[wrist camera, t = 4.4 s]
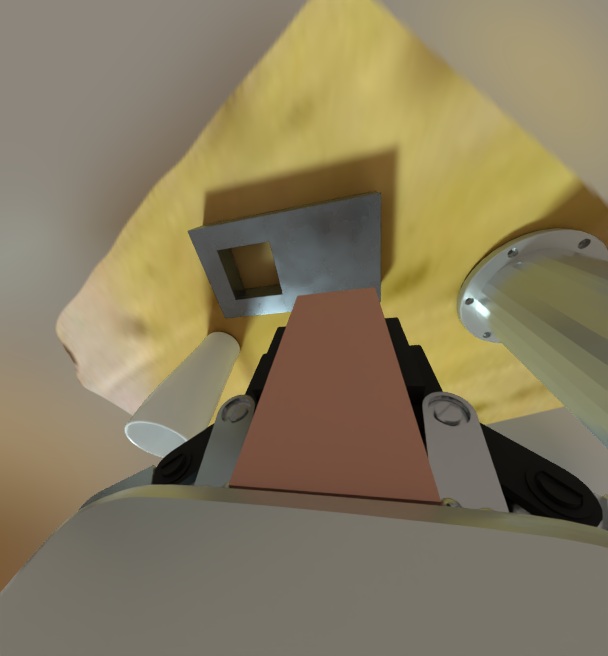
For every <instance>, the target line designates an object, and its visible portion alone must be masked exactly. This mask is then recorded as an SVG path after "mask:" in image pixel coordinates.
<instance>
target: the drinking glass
mask: <svg viewBox="0 0 608 656" xmlns="http://www.w3.org/2000/svg"><path fill="white" fill-rule="evenodd" d="M239 353H240V347H239V344H238V342H237V341H236V339H235V338H233V337H232V336H231V335H229V334H227V333H224V332H213V333H211V334H209V335H208V336H207V337H206V338H205V339H204V340H203V341H202V343H201V344H200V345H199V346H198V347H197V348H196V349H195V350H194V351H193V352H192V353H191V354H190V355H189V356H188V357H187V358H186V359H185V360H184V361H183V362H182V363H181V364H180V365H179V366H178V367H177V368H176V369H175V370H174V371H173V372H172V373H171V374H170V375H168V376H167V377H166V378H165V379H164V380H163V381H162V382H161V383H160V384H159V385H158V387H157V388H156V389H155V390H154V391H153V392H152V393H151V394H150V395H149V396H148V398H147V399H146V400H145V401H144V402H143V403H142V405H141V406H140V407H139V408H138V410H137V411H136V412H135V413H134V415H133V416H132V417H131V419H130V420H129V421H128V423H127V424H126V425H125V434H126V436H127V437H128V438H129V440H130V441H131V442H132V443H134V444H135V445H136V446H138V447H139V448H141V449H143V450H144V451H147V452H148V453H151V454H153V455H156V456H160V457H163V458H164V457H165V456H166V455H167V454H169V453H170V452H171V451H173V450H174V449H176V448H177V447H179V446H180V445H182V444H183V443H185V442H186V441H188V440H189V439H191V438H192V437H194V436H195V435H197V434H199V433H200V432H202V431H203V430H205V429H206V428H207V427H208V425H209V423H210V421H211V419H212V417H213V414H214V412H215V410H216V407H217V405H218V402H219V400H220V397H221V395H222V392H223V390H224V388H225V385H226V383H227V380H228V378H229V375H230V373H231V371H232V368H233V366H234V364H235V361H236V360H237V358H238V356H239Z"/></svg>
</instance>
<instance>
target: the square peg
mask: <svg viewBox="0 0 608 656" xmlns="http://www.w3.org/2000/svg"><path fill="white" fill-rule="evenodd" d="M229 486H230V487H231V488H233V489H246V490H259V491H272V492H285V493H297V494H309V495H321V496H334V497H346V498H358V499H370V500H381V501H392V502H404V503H415V504H427V505H438V506H440V504H441V499H440V496H439V493H438V489H437V486H436V483H435V480H434V477H433V473H432V470H431V467H430V464H429V460H428V457H427V454H426V451H425V447H424V444H423V441H422V438H421V435H420V431H419V428H418V425H417V422H416V418H415V415H414V412H413V409H412V405H411V402H410V399H409V396H408V392H407V389H406V386H405V383H404V380H403V376H402V373H401V370H400V367H399V363H398V360H397V357H396V354H395V350H394V347H393V344H392V341H391V338H390V334H389V331H388V328H387V325H386V321H385V318H384V315H383V312H382V308H381V305H380V302H379V299H378V296H377V292H376V289H375V287H371V288H362V289H353V290H344V291H335V292H326V293H317V294H308V295H299V296H297V298H296V301H295V304H294V306H293V309H292V312H291V315H290V317H289V320H288V323H287V326H286V328H285V331H284V334H283V337H282V339H281V342H280V345H279V348H278V350H277V353H276V356H275V359H274V361H273V364H272V367H271V370H270V372H269V375H268V378H267V381H266V383H265V386H264V389H263V392H262V394H261V397H260V400H259V403H258V405H257V408H256V411H255V414H254V416H253V419H252V422H251V425H250V427H249V430H248V433H247V436H246V438H245V441H244V444H243V447H242V449H241V452H240V455H239V458H238V460H237V463H236V466H235V469H234V471H233V474H232V477H231V480H230V482H229Z"/></svg>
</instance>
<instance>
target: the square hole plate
mask: <svg viewBox="0 0 608 656" xmlns="http://www.w3.org/2000/svg"><path fill="white" fill-rule="evenodd" d="M188 233H189V236H190V238H191V240H192V243H193V245H194V247H195V250H196V252H197V254H198V257H199V259H200V261H201V263H202V266H203V268H204V270H205V273H206V275H207V277H208V280H209V282H210V284H211V287H212V289H213V291H214V293H215V296H216V298H217V300H218V303H219V305H220V307H221V310H222V312H223V314H224V317H225V318H234V317H244V316H253V315H263V314H272V313H282V312H291V311H292V309H293V306H294V304H295V301H296V298H297V296H299V295H308V294H317V293H326V292H335V291H344V290H353V289H362V288H371V287H375V289H376V292H377V296H378V299H379V302H381V193H379V192H377V191H373V192H368V193H363V194H358V195H353V196H348V197H343V198H338V199H333V200H328V201H323V202H318V203H313V204H308V205H303V206H298V207H293V208H288V209H283V210H278V211H273V212H268V213H263V214H258V215H253V216H248V217H243V218H238V219H233V220H228V221H223V222H218V223H213V224H208V225H203V226H200V227H197V228H194V229H192V230H189V231H188ZM268 241H269V242H270V246H271V250H272V254H273V258H274V262H275V266H276V269H277V273H278V277H279V281H280V285H274V286H266V287H258V288H251V289H244V286H243V283H242V280H241V278H240V275H239V272H238V269H237V266H236V263H235V261H234V258H233V255H232V252H231V249H230V248H233V247H239V246H245V245H251V244H257V243H263V242H268Z"/></svg>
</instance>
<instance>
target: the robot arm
mask: <svg viewBox="0 0 608 656" xmlns="http://www.w3.org/2000/svg"><path fill="white" fill-rule="evenodd" d="M457 312H458V317H459V319H460V321H461V323H462V324H463V326H464V327H465V328H466V329H467V330H468V331H469V332H470V333H471V334H473V335H474V336H475V337H477V338H479V339H482V340H485V341H489V342H493V343H502V344H503V345H504V346H505V347H506V348H507V349H508V350H509V351H510V352H511V353H512V354H513V355H514V356H515V357H516V358H517V359H518V360H519V361H520V362H521V363H522V364H523V365H524V366H525V367H526V368H527V369H528V370H529V371H530V372H531V373H532V374H533V375H534V376H535V377H536V378H537V379H538V380H539V381H540V382H541V383H542V384H543V385H544V386H545V387H546V388H547V389H548V390H549V391H550V392H551V393H552V394H553V395H554V396H555V397H556V398H557V399H558V400H559V401H560V402H561V403H562V404H563V405H564V406H565V407H566V408H567V409H568V410H569V411H570V412H571V413H572V414H573V415H574V416H575V417H576V418H577V419H578V420H579V421H580V422H581V423H582V424H583V425H584V426H585V427H587V429H588V430H589V431H590V432H592V434H593V435H594V436H595V437H596V438H597V439H598V440H599V441H600V442H601V443H602V444H603V445H604V446H606V448H607V449H608V249H607V247H606V246H605V244H604V243H603V242H602V241H601V240H599V239H598V238H597V237H596V236H594V235H591V234H588V233H586V232H583V231H578V230H573V229H564V228H553V229H546V230H539V231H535V232H532V233H529V234H525V235H522V236H520V237H518V238H516V239H514V240H511V241H509V242H507V243H506V244H504V245H502V246H501V247H499V248H497V249H496V250H494V251H493V252H492V253H490V254H489V255H488V256H487V257H485V258H484V259H483V260H482V261H481V262H480V263H479V264H478V265H477V266H476V267H475V268H474V269H473V270H472V271H471V273H470V274H469V275H468V277H467V278H466V280H465V281H464V283H463V285H462V287H461V289H460V292H459V296H458V299H457ZM385 321H386V325H387V328H388V331H389V334H390V338H391V341H392V344H393V347H394V350H395V354H396V357H397V360H398V363H399V367H400V370H401V373H402V376H403V380H404V383H405V386H406V389H407V392H408V396H409V399H410V402H411V405H412V409H413V412H414V415H415V418H416V422H417V425H418V428H419V431H420V435H421V438H422V441H423V444H424V447H425V451H426V454H427V457H428V460H429V464H430V467H431V470H432V473H433V477H434V480H435V483H436V486H437V489H438V493H439V496H440V499H441V504H440V506H438V505H427V504H415V503H404V502H392V501H381V500H370V499H358V498H346V497H334V496H321V495H309V494H297V493H285V492H272V491H259V490H246V489H233V488H231V487H230V486H229V482H230V480H231V477H232V474H233V471H234V469H235V466H236V463H237V460H238V458H239V455H240V452H241V449H242V447H243V444H244V441H245V438H246V436H247V433H248V430H249V427H250V425H251V422H252V419H253V416H254V414H255V411H256V408H257V405H258V403H259V400H260V397H261V394H262V392H263V389H264V386H265V383H266V381H267V378H268V375H269V372H270V370H271V367H272V364H273V361H274V359H275V356H276V353H277V350H278V348H279V345H280V342H281V339H282V337H283V334H284V331H285V328H286V327H278V328H277V331H276V333H275V335H274V338H273V340H272V342H271V345H270V347H269V350H268V352H267V354H263V356H262V357H261V360H260V362H259V364H258V366H257V369H256V371H255V373H254V375H253V378H252V380H251V382H250V384H249V387H248V389H247V391H246V393H245V395H238V396H234V397H232V398H231V399H229V400H228V401H226V402H225V403H224V404H223V405H222V406H221V408H220V410H219V412H218V414H217V417H216V420H215V423H214V424H212V425H211V426H209V427H208V428H206V429H205V430H203V431H202V432H200V433H199V434H197V435H195V436H194V437H192V438H191V439H189V440H188V441H186V442H185V443H183V444H182V445H180V446H179V447H177V448H176V449H174V450H173V451H171V452H170V453H169V454H167V455H166V456H165V457H164V458H163V460H161V462H160V463H159V464H158V466H157V467H155V466H154V465H153V466H151V467H149V468H147V469H145V470H142V471H140V472H138V473H137V474H134V475H133V476H131V477H128V478H126V479H124V480H122V481H120V482H118V483H116V484H114V485H112V486H110V487H109V488H106V489H104V490H102V491H100V492H98V493H97V494H96V495H94V496H92V497H91V498H90V499H89V500H87V501H86V502H85V503H84V504H83V505H82V506H81V508H80V509H79V510H78V512H76V513H75V514H73V515H72V516H71V517H69V518H68V519H67V520H66V521H65V522H64V523H63V524H61V525H60V526H59V527H58V528H57V529H56V530H55V531H54V532H53V534H51V535H50V536H49V538H48V539H47V540H46V541H45V542H44V543H43V544H42V545H41V546H40V547H39V549H38V550H37V551H36V552H35V553H34V554H33V555H32V556H31V558H30V559H29V560H28V561H27V562H26V563H25V564H24V566H23V567H22V568H21V569H20V570H19V571H18V573H17V574H16V575H15V576H14V577H13V578H12V580H11V581H10V582H9V583H8V584H7V586H6V587H5V588H4V589H3V590H2V592H1V593H0V656H608V495H607V494H605V495H604V496H599V495H597V494H595V493H592V491H591V490H590V489H589V488H588V487H587V486H586V485H585V484H584V483H583V482H582V481H580V480H579V479H578V478H577V477H575V476H574V475H572V474H571V473H569V472H568V471H566V470H565V469H563V468H561V467H559V466H558V465H556V464H554V463H552V462H550V461H548V460H547V459H545V458H543V457H541V456H539V455H538V454H536V453H534V452H532V451H530V450H528V449H527V448H525V447H523V446H521V445H519V444H518V443H516V442H514V441H512V440H510V439H508V438H507V437H505V436H503V435H501V434H500V433H498V432H496V431H494V430H492V429H491V428H489V427H487V426H485V425H483V424H482V423H480V422H479V420H478V417H477V414H476V412H475V410H474V408H473V407H472V406H471V405H470V404H469V403H468V402H467V401H466V400H464V399H463V398H461V397H459V396H457V395H455V394H452V393H447V392H443V391H442V389H441V387H440V385H439V383H438V380H437V378H436V376H435V374H434V372H433V370H432V368H431V366H430V364H429V362H428V360H427V357H426V355H425V353H424V351H423V349H422V347H421V346H420V345H411V346H409V344H408V341H407V339H406V336H405V334H404V332H403V329H402V327H401V324H400V322H399V319H398V318H385Z"/></svg>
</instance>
